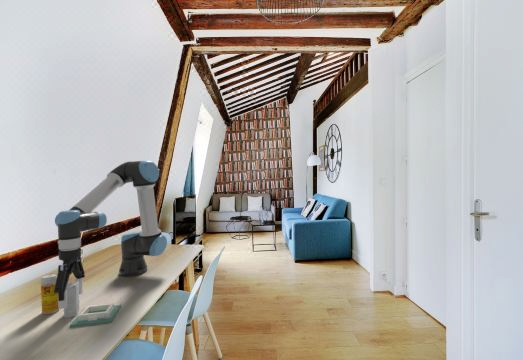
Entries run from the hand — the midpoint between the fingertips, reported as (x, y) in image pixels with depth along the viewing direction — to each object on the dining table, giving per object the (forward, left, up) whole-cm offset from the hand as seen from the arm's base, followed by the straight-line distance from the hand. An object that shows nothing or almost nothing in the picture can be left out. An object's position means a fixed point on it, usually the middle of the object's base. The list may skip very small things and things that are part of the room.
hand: (71, 300), depth 112 cm
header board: (+5, +11, -6) cm, 13 cm away
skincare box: (0, 0, -6) cm, 6 cm away
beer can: (-5, -10, -6) cm, 13 cm away
